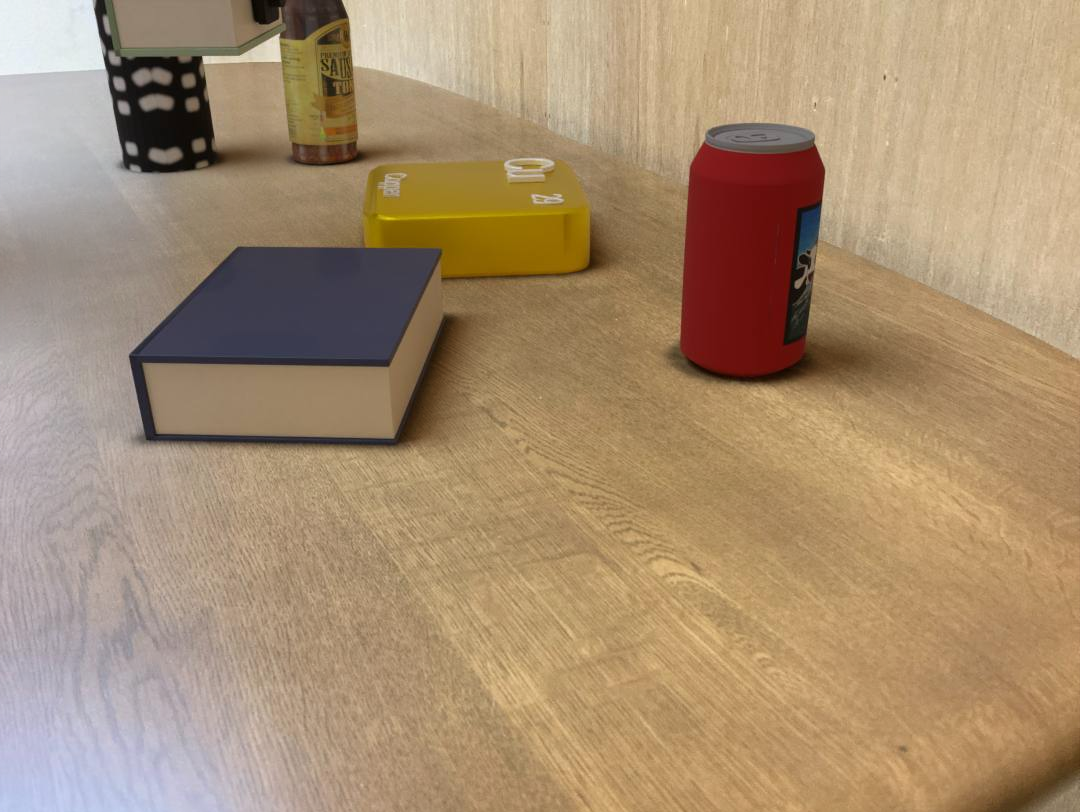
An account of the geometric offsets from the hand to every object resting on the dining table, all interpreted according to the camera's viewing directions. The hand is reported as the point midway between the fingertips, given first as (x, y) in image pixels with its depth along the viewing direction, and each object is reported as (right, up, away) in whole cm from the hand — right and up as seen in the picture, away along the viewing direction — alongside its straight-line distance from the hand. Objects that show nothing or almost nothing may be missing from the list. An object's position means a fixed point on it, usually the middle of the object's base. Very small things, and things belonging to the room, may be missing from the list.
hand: (202, 20), depth 67 cm
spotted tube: (-14, +4, +38) cm, 41 cm away
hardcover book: (0, -1, +1) cm, 1 cm away
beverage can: (+31, -21, -4) cm, 37 cm away
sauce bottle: (0, +5, +39) cm, 39 cm away
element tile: (+15, -10, +15) cm, 23 cm away
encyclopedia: (+8, -22, -6) cm, 24 cm away
